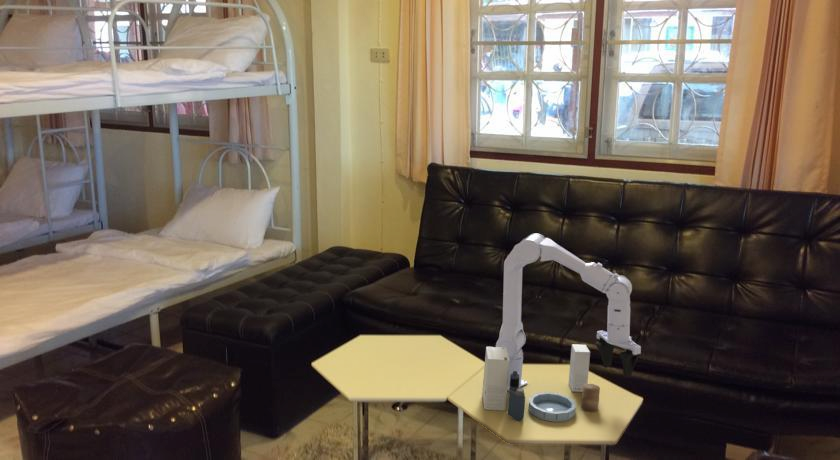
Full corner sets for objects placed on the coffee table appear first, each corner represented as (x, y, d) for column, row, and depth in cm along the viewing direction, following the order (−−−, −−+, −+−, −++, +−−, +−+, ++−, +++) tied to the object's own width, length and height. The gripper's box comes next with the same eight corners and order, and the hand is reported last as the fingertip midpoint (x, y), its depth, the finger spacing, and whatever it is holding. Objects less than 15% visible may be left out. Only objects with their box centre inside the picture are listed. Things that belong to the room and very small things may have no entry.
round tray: (519, 410, 188) (520, 401, 187) (545, 396, 196) (546, 388, 196) (558, 426, 180) (559, 418, 179) (583, 411, 188) (584, 403, 188)
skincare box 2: (587, 392, 200) (590, 352, 197) (571, 392, 200) (575, 352, 197) (582, 383, 205) (586, 344, 203) (568, 382, 206) (571, 343, 203)
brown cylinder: (577, 407, 190) (579, 387, 189) (586, 402, 193) (588, 382, 192) (592, 413, 187) (594, 392, 186) (601, 408, 190) (603, 387, 189)
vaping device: (513, 411, 187) (516, 369, 184) (525, 420, 183) (528, 377, 180) (505, 413, 186) (508, 370, 183) (517, 422, 181) (519, 378, 179)
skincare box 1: (481, 396, 195) (484, 345, 192) (503, 397, 195) (506, 346, 192) (484, 410, 187) (487, 358, 184) (507, 411, 187) (510, 358, 184)
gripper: (650, 328, 183) (648, 377, 186) (611, 313, 196) (609, 359, 198) (629, 333, 180) (628, 383, 183) (591, 317, 192) (590, 364, 195)
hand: (617, 371), depth 190 cm, fingers open, 7 cm apart
